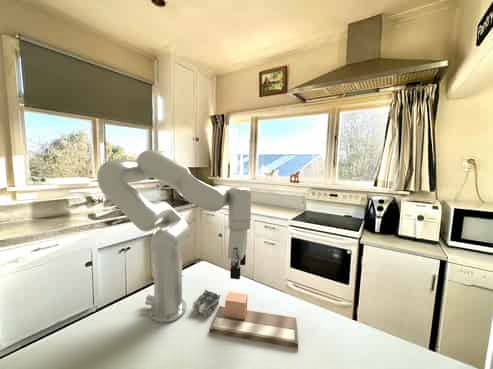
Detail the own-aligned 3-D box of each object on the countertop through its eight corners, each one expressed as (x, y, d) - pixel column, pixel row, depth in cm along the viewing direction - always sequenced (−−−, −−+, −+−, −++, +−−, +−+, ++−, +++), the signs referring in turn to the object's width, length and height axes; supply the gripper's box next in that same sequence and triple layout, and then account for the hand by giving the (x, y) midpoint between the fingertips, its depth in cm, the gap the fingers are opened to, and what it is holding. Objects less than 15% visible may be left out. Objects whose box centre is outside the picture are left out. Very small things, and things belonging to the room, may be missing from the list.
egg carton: (207, 320, 75) (208, 309, 74) (189, 314, 77) (190, 303, 77) (222, 301, 85) (222, 292, 84) (205, 297, 87) (205, 287, 87)
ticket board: (209, 332, 69) (209, 326, 69) (219, 309, 80) (219, 304, 79) (297, 348, 64) (298, 341, 64) (295, 321, 75) (296, 315, 75)
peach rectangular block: (224, 316, 74) (225, 300, 73) (228, 306, 79) (228, 291, 78) (244, 319, 73) (245, 303, 72) (247, 309, 78) (247, 294, 77)
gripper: (234, 216, 82) (233, 259, 83) (221, 230, 65) (220, 283, 66) (253, 217, 80) (252, 261, 82) (245, 232, 63) (244, 286, 65)
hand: (238, 271), depth 74 cm, fingers open, 9 cm apart
